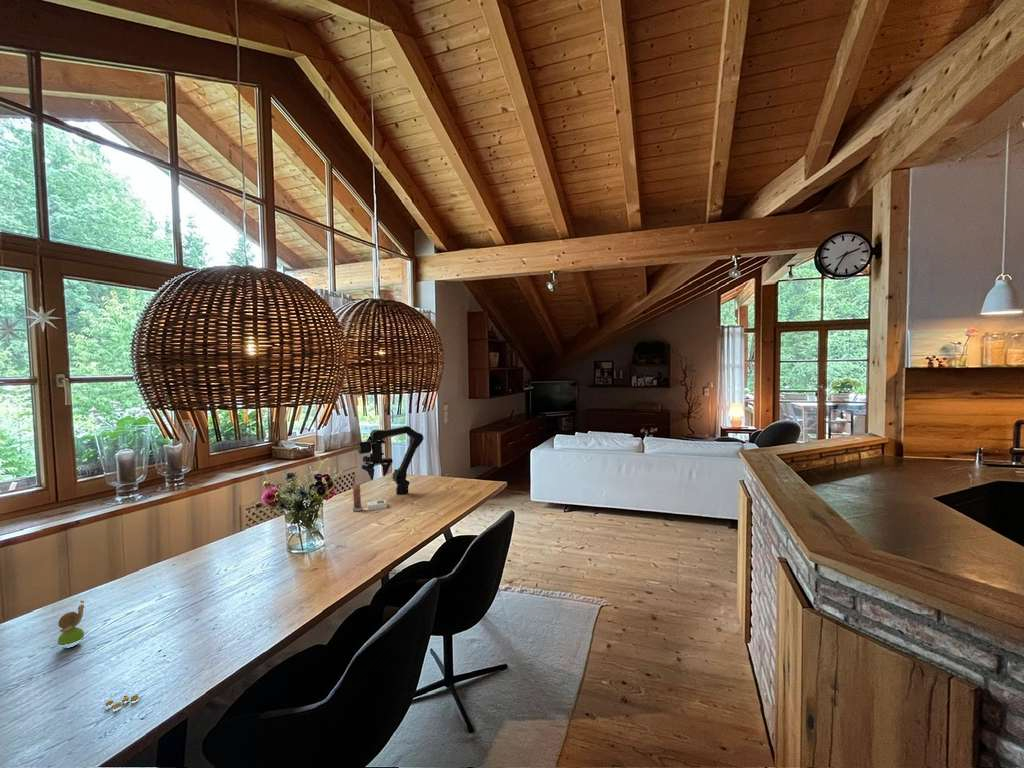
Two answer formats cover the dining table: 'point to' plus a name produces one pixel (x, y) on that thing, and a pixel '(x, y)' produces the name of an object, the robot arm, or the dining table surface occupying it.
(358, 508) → the joystick
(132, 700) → the dice set
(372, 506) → the block
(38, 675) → the dining table surface
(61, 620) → the snail figurine
